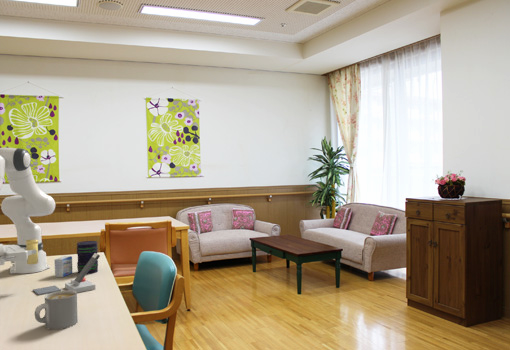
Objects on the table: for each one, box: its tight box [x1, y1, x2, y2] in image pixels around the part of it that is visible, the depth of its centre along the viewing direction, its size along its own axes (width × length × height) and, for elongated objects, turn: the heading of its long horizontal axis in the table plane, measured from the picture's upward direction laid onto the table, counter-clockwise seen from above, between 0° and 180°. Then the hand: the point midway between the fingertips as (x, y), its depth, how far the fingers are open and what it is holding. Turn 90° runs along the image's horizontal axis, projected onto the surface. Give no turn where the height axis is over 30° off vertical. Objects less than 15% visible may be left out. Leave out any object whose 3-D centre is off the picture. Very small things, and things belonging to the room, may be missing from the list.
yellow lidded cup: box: [26, 239, 38, 264], centre depth 191 cm, size 5×5×10 cm
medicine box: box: [54, 255, 73, 278], centre depth 216 cm, size 8×4×9 cm, turn 168°
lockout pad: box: [32, 285, 62, 296], centre depth 188 cm, size 9×9×1 cm
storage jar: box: [76, 240, 99, 275], centre depth 221 cm, size 10×10×15 cm
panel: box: [64, 277, 96, 294], centre depth 191 cm, size 12×9×3 cm
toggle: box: [72, 253, 101, 286], centre depth 192 cm, size 5×2×15 cm
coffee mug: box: [34, 290, 79, 330], centre depth 147 cm, size 13×10×10 cm
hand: (34, 250), depth 192 cm, fingers closed on yellow lidded cup, 4 cm apart
